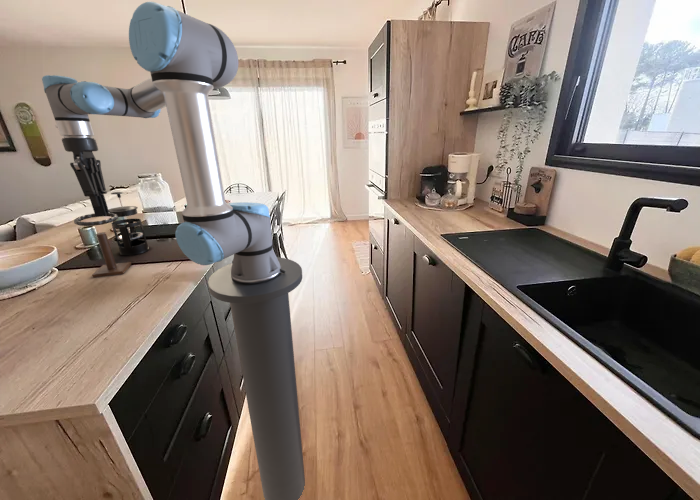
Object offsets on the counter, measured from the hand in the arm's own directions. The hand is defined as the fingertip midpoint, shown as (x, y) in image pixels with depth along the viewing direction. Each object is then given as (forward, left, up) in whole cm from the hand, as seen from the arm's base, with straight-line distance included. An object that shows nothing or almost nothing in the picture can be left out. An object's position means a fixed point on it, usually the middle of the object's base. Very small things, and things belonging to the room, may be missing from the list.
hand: (102, 215), depth 93 cm
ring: (0, +4, 0) cm, 5 cm away
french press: (-1, -13, -18) cm, 22 cm away
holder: (0, +5, -18) cm, 18 cm away
